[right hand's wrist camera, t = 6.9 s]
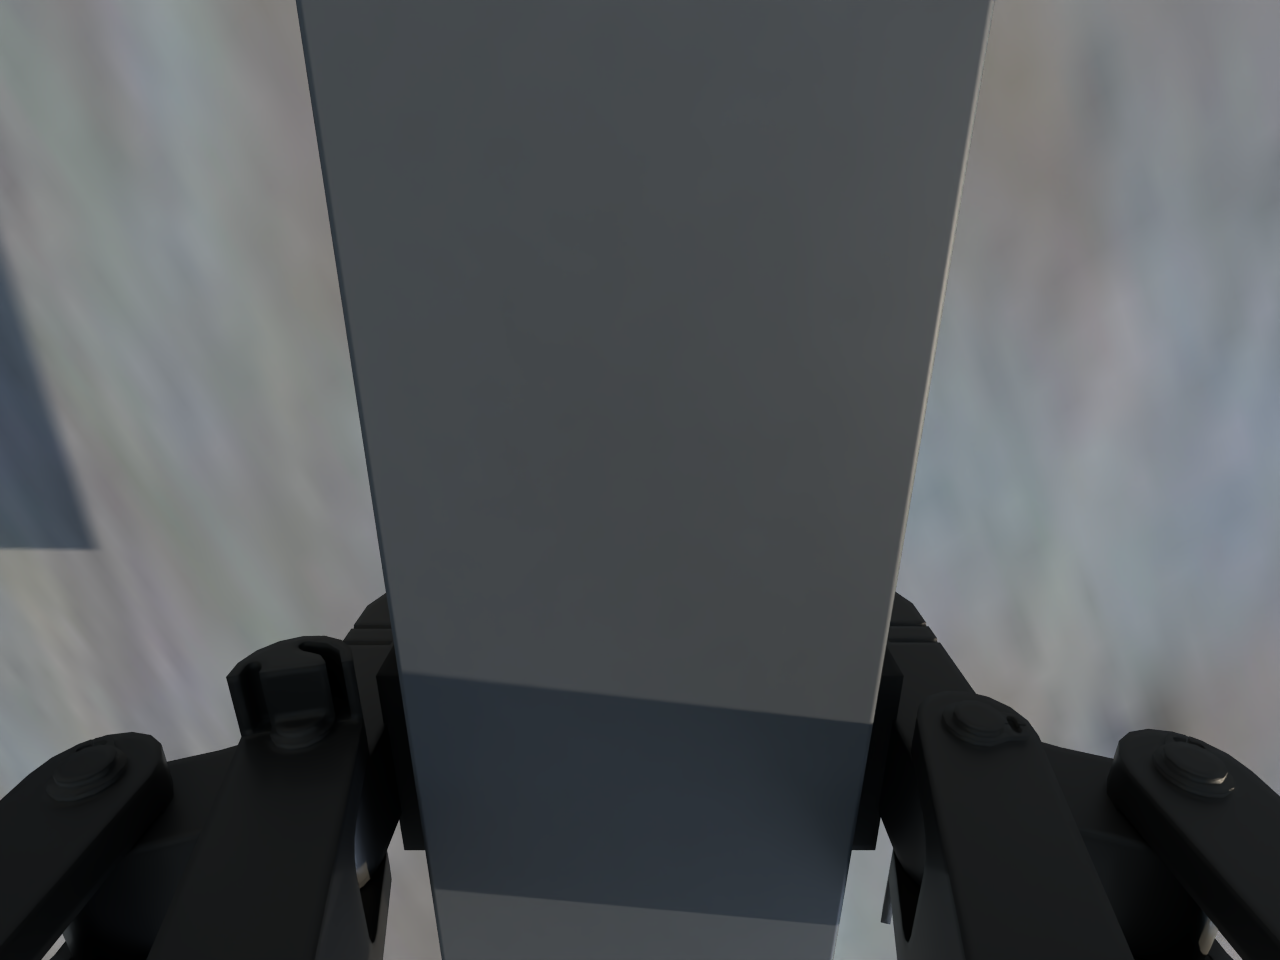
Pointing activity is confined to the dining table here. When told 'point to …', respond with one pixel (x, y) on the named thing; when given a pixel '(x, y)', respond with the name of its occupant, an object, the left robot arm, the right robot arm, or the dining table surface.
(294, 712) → the right robot arm
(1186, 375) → the dining table surface
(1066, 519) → the dining table surface
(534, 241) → the post
